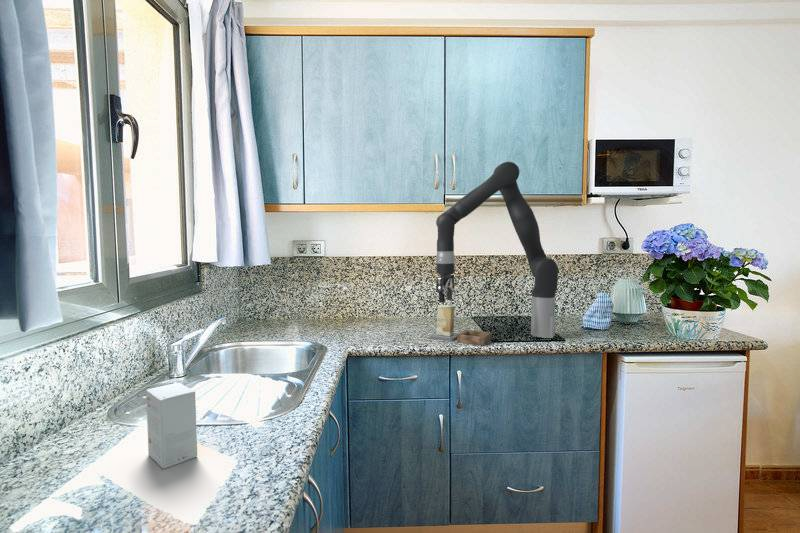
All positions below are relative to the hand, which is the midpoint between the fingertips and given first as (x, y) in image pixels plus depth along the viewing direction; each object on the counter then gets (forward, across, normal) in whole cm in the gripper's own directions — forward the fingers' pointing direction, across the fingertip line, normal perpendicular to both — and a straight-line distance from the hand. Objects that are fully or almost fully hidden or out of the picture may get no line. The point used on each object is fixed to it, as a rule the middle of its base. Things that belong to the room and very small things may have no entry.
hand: (445, 301), depth 181 cm
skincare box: (+14, 0, 0) cm, 14 cm away
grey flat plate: (+15, 0, 0) cm, 15 cm away
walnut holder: (+15, -1, -13) cm, 20 cm away
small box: (+14, -116, +10) cm, 118 cm away
